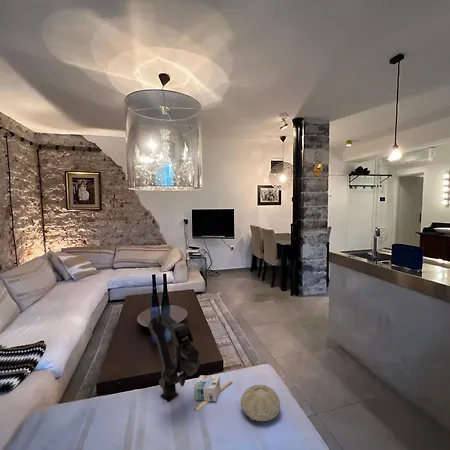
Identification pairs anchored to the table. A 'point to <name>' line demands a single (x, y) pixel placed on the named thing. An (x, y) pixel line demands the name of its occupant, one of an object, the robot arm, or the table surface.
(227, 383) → the rail
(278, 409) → the beige carved stone
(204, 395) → the light bulb box
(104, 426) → the table surface
